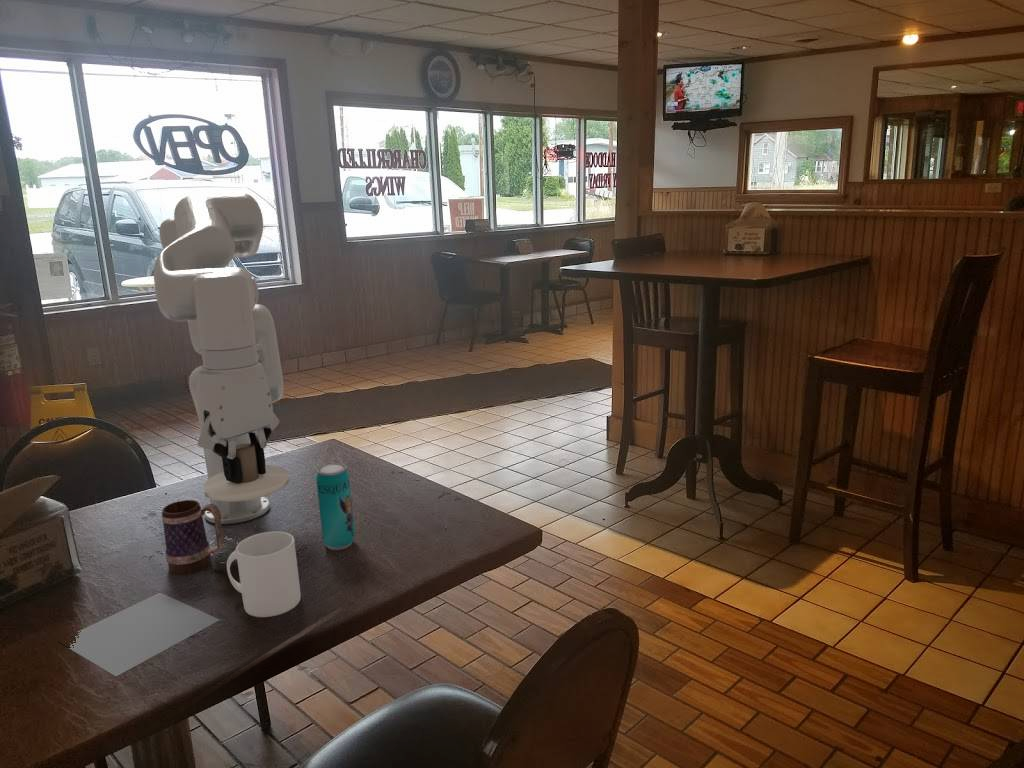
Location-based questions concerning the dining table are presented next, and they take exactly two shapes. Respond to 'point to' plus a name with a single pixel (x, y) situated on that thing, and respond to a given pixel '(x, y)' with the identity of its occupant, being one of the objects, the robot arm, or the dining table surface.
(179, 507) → the mug
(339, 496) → the beverage can
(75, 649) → the mat
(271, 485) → the lid
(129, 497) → the dining table surface
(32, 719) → the dining table surface
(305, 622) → the dining table surface
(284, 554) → the mug
